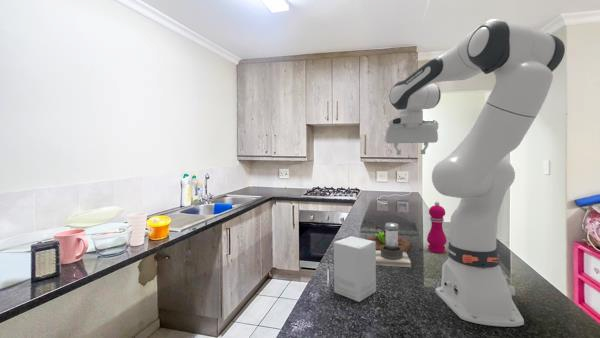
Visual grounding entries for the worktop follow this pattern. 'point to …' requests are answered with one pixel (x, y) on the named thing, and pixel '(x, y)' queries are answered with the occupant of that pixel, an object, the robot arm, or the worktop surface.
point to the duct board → (392, 258)
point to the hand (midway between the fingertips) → (410, 154)
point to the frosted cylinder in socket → (391, 236)
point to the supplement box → (355, 268)
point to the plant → (381, 241)
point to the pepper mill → (436, 229)
